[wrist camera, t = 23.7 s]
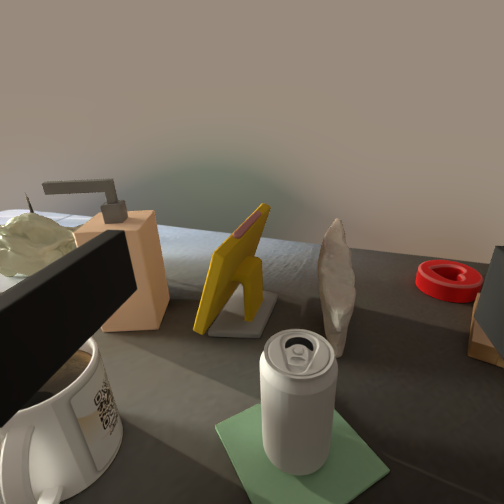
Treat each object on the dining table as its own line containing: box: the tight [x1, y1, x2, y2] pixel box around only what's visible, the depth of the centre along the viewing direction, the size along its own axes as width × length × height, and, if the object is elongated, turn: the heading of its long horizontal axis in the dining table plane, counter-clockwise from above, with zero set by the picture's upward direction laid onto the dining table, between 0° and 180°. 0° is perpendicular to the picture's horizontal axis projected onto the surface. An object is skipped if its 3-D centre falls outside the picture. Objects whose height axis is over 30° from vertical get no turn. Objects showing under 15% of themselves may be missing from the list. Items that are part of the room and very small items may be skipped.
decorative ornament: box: [416, 260, 483, 303], centre depth 55 cm, size 10×10×3 cm
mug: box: [0, 337, 123, 504], centre depth 28 cm, size 10×12×11 cm
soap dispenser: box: [42, 179, 170, 332], centre depth 47 cm, size 13×9×22 cm
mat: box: [215, 403, 390, 504], centre depth 31 cm, size 12×12×1 cm
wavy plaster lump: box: [0, 213, 84, 277], centre depth 65 cm, size 18×13×16 cm
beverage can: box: [260, 329, 338, 476], centre depth 28 cm, size 6×6×12 cm
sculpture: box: [318, 218, 356, 358], centre depth 44 cm, size 17×5×15 cm, turn 175°
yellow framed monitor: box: [193, 203, 278, 338], centre depth 48 cm, size 20×8×16 cm, turn 162°
